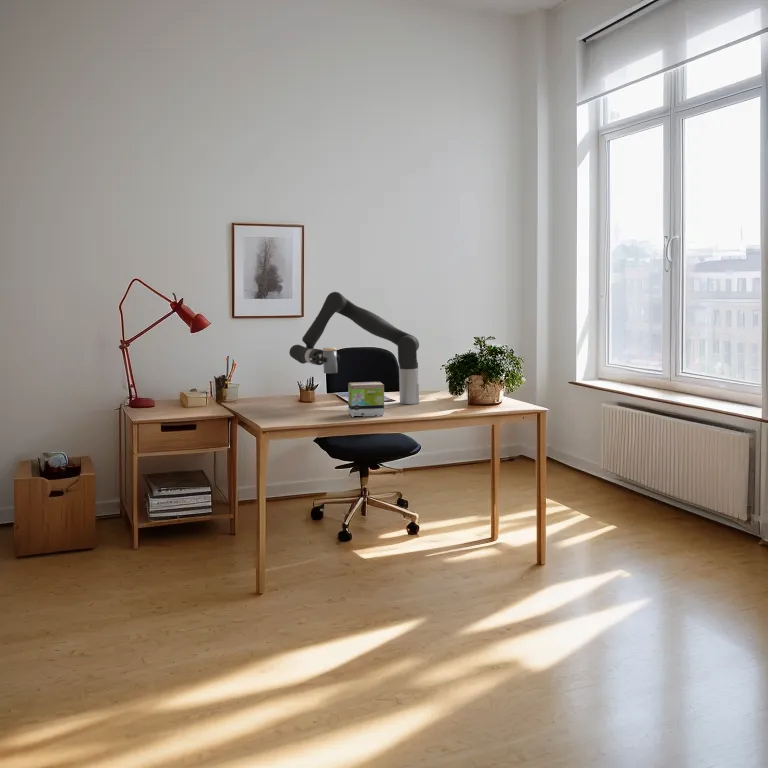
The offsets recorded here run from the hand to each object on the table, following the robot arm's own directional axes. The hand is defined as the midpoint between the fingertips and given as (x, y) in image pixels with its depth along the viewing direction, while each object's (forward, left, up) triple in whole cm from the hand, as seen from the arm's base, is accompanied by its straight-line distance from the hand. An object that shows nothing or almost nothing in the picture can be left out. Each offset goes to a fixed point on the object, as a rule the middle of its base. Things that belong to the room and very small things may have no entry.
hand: (332, 359), depth 371 cm
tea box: (-15, +10, -25) cm, 31 cm away
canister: (+1, -2, -6) cm, 7 cm away
